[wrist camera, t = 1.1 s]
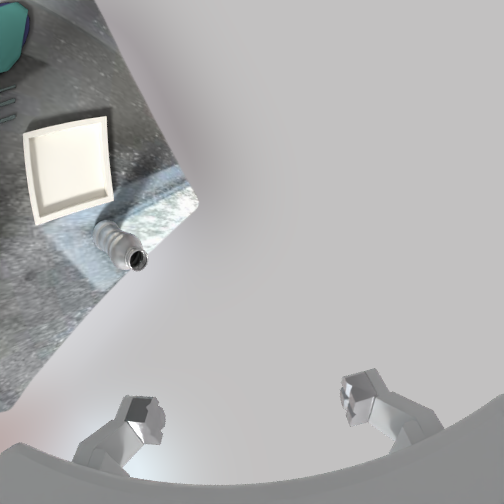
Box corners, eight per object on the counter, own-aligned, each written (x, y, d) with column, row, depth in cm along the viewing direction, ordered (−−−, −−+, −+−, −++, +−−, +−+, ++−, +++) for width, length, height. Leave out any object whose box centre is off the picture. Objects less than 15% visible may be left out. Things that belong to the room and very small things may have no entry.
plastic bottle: (119, 220, 56) (160, 242, 43) (112, 249, 56) (151, 281, 44) (93, 215, 51) (125, 237, 38) (87, 245, 51) (117, 278, 39)
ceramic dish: (35, 222, 41) (35, 225, 39) (23, 135, 33) (22, 133, 31) (109, 199, 53) (114, 200, 51) (102, 118, 45) (106, 116, 43)
